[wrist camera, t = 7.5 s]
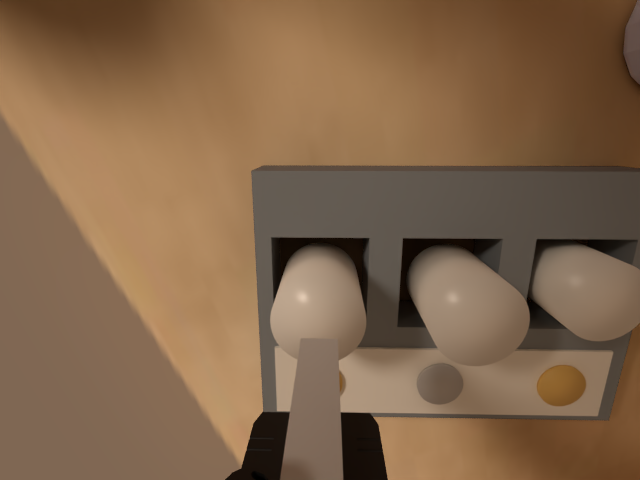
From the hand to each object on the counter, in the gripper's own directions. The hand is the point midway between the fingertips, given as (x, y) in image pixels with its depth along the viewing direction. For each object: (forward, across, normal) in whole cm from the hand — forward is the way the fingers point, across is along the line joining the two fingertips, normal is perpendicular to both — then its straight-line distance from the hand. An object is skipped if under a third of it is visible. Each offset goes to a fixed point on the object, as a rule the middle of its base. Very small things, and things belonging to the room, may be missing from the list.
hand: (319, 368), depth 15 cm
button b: (+9, +8, 0) cm, 12 cm away
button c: (+12, +16, 0) cm, 20 cm away
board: (+12, +8, -1) cm, 15 cm away
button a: (+9, 0, 0) cm, 9 cm away
